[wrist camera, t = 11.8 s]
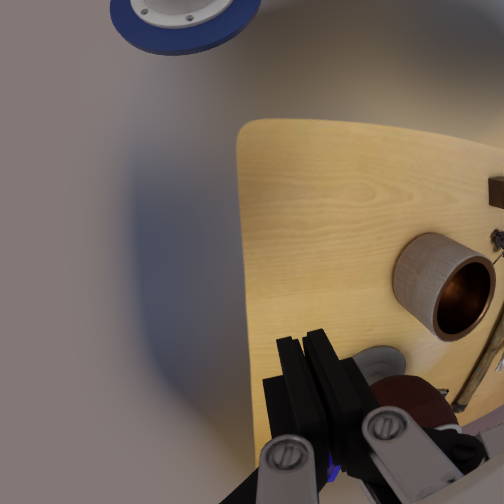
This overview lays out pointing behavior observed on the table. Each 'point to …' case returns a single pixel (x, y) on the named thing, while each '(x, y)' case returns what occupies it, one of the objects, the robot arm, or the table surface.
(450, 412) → the mate gourd
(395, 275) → the planter
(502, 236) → the figurine
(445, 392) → the graphics card
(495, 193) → the block
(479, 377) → the hammer
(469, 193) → the table surface
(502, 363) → the white elongated piece
